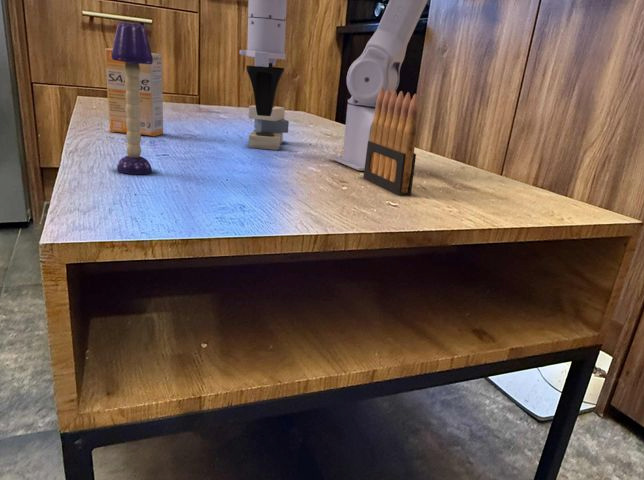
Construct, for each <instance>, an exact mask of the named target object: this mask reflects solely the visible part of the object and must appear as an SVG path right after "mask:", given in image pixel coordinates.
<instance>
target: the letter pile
mask: <svg viewBox="0 0 644 480" xmlns="http://www.w3.org/2000/svg"><path fill="white" fill-rule="evenodd" d="M285 108H286V107H284V106H277V105H273V109H272V113H271V116H259V115H257V111H256V106H255V104H253V105H248V119H252V120H254V124H253V125H254V126H253V127H254V129H253V131H252V132H259V131H260V132H271V133H274V134H281V137H280V146H282V144H283V141H284V139H283V138H284V134H288V133H289V124H290V123H289V120H287V119H286V118H285V110H286V109H285Z"/></svg>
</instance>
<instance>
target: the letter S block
mask: <svg viewBox="0 0 644 480" xmlns="http://www.w3.org/2000/svg"><path fill="white" fill-rule="evenodd" d="M280 137H281V134H274V133H271V132H260V131H259V132H253V131H251V133H250V134H249V135H248V148H250V149H259V150H260V149H261V150H270V151H271V150H272V151H279V149H280V147H281V145H280Z"/></svg>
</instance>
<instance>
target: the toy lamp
mask: <svg viewBox="0 0 644 480" xmlns="http://www.w3.org/2000/svg"><path fill="white" fill-rule="evenodd" d="M147 33H148V32H147V30H146V27H145V25H143V24H138V23H133V22H125V21H119V22H118V24H117V27H116V30H115V35H114V40H113V45H112V48H111V49H112V59H113V60H116V61H122V62H126V63H125V73H126V75H127V76H126V79H125V86H126V89H127V91H126V101H127V105H126V114H127V120H126V127H127V129H128V131H127V133H126V134H125V135H126V137H125V138H126V142H127V144H126V154H127V155H125V156H123V157H122V158H120V160H119V161H118V163H117V166H116V170H117V171H118V172H120V173H123V174H129V175H148V174H152V173H153V169H152V165H151V164H150V162H149V160H148V159H146V158H145V157H143V156H141V154H142V147H141V145H140V144H141V142H142V135H141V134H140V132H139V131H140V129H141V121H140V119H139V117H140V115H141V108H140V105H139V103H140V100H141V97H140V93H139V89H140V79H139V75H140V66H139V64H152V63H153V58H152V54H151V53H152V50H151V46H150V40H149V37H148V34H147Z"/></svg>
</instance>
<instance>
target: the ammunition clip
mask: <svg viewBox="0 0 644 480" xmlns="http://www.w3.org/2000/svg"><path fill="white" fill-rule="evenodd" d="M403 92H404V91H402V90H401V91H399V93H398V94H397V90H394V91H393V92H392V95H391V93H390V89H387V91H386V93H384V89H383V87H382V88H381V90H380V92H379V94H378V98H377V102H376V109H375V114H374V118H373V122H372V129H371V137H370V141H368V145H367V152H366V160H365V168H364V171H363V176H362V177H363V179H365V180H366V181H368V182H370V183H372V184H375V185H376V186H379V187H380V188H382V189H385V190H387V191H388V192H391V193H393V194H395V195H398V196H411V195H412V191H413V190H412V189H413V182H414V174H415V166H416V159H417V153H415V149H416V141H417V136H418V135H417V134H418V125H417V124H418V114H419V97H418V94H417V93H414V94H413V96H412V98H411V93H410V92H409V91H407V93H406V94H405V96H404V93H403Z"/></svg>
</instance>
